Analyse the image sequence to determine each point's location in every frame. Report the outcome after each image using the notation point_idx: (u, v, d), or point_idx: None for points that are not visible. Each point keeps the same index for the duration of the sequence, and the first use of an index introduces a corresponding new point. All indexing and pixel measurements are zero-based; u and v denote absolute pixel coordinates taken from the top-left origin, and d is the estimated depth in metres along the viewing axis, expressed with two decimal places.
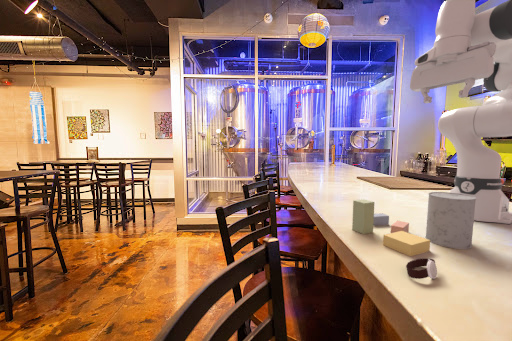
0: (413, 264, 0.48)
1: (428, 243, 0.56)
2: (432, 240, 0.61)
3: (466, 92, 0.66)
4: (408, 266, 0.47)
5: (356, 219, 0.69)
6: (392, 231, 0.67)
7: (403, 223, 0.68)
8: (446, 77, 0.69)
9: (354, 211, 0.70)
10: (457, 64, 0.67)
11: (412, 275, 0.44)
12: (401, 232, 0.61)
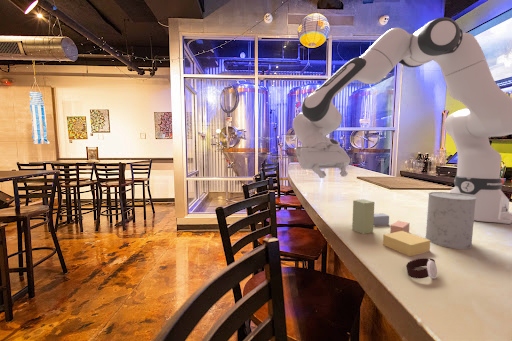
0: (413, 264, 0.48)
1: (428, 243, 0.56)
2: (432, 240, 0.61)
3: (319, 174, 0.78)
4: (408, 266, 0.47)
5: (356, 219, 0.69)
6: (392, 231, 0.67)
7: (403, 223, 0.68)
8: None
9: (354, 211, 0.70)
10: None
11: (412, 275, 0.44)
12: (401, 232, 0.61)
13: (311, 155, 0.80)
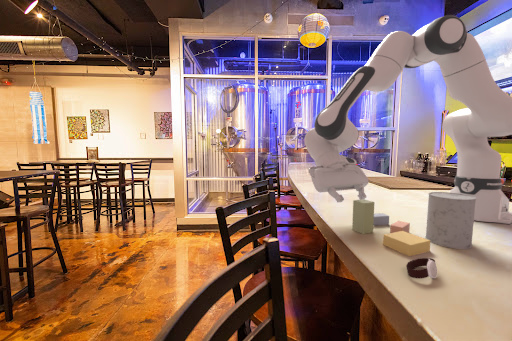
0: (413, 264, 0.48)
1: (428, 243, 0.56)
2: (432, 240, 0.61)
3: (337, 198, 0.72)
4: (408, 266, 0.47)
5: (356, 219, 0.69)
6: (391, 231, 0.67)
7: (403, 223, 0.68)
8: None
9: (354, 211, 0.70)
10: None
11: (412, 275, 0.44)
12: (401, 232, 0.61)
13: (327, 177, 0.74)
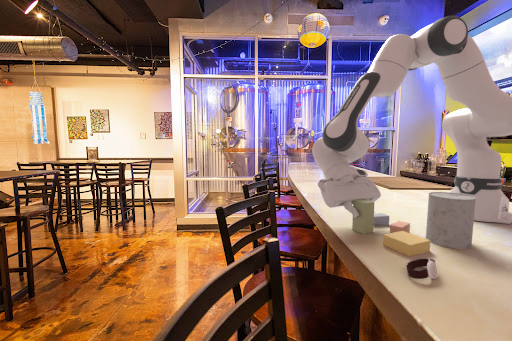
0: (413, 265, 0.48)
1: (428, 243, 0.56)
2: (432, 240, 0.61)
3: (354, 213, 0.68)
4: (408, 266, 0.47)
5: (356, 219, 0.69)
6: (391, 231, 0.67)
7: (403, 223, 0.68)
8: None
9: None
10: None
11: (412, 275, 0.44)
12: (401, 232, 0.61)
13: (338, 191, 0.70)
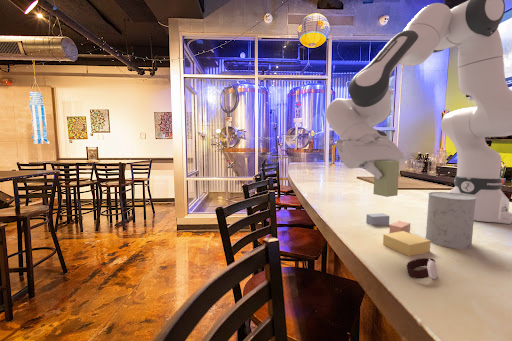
0: (413, 264, 0.48)
1: (428, 244, 0.56)
2: (432, 240, 0.61)
3: (376, 174, 0.61)
4: (408, 266, 0.47)
5: (378, 181, 0.62)
6: (391, 231, 0.67)
7: (404, 223, 0.68)
8: None
9: None
10: None
11: (413, 275, 0.44)
12: (402, 232, 0.61)
13: (357, 150, 0.63)
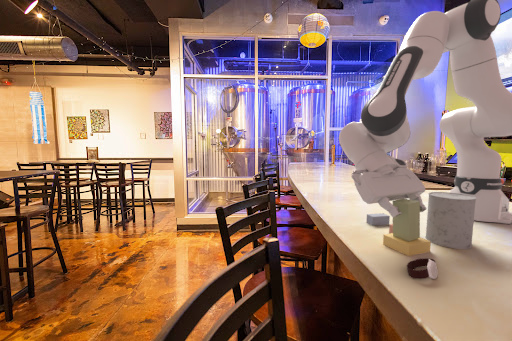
0: (413, 264, 0.48)
1: (428, 244, 0.56)
2: (432, 240, 0.61)
3: (392, 212, 0.55)
4: (408, 266, 0.47)
5: (398, 223, 0.57)
6: (390, 230, 0.67)
7: None
8: None
9: None
10: None
11: (413, 275, 0.44)
12: None
13: (377, 184, 0.58)
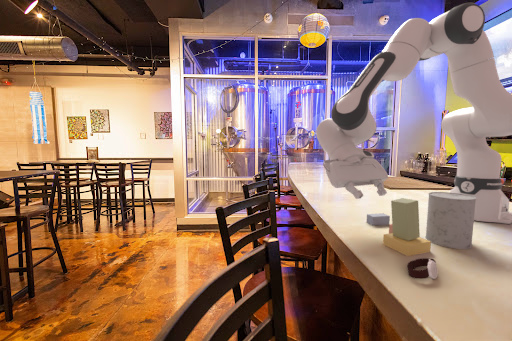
0: (413, 264, 0.48)
1: (428, 244, 0.56)
2: (432, 240, 0.61)
3: (355, 194, 0.65)
4: (409, 266, 0.47)
5: (397, 223, 0.58)
6: (390, 230, 0.67)
7: None
8: None
9: (393, 213, 0.58)
10: None
11: (413, 275, 0.44)
12: None
13: (344, 171, 0.67)
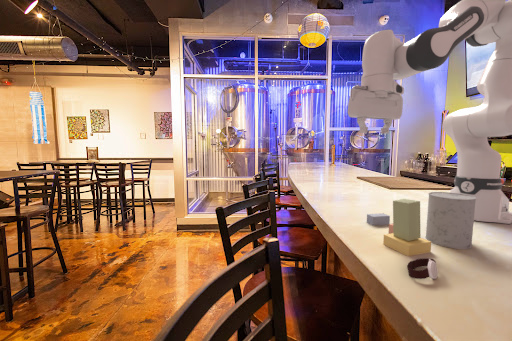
0: (413, 264, 0.48)
1: (429, 244, 0.56)
2: (432, 240, 0.61)
3: (361, 129, 0.72)
4: (409, 266, 0.47)
5: (398, 223, 0.58)
6: (390, 230, 0.67)
7: None
8: None
9: (395, 213, 0.58)
10: None
11: (413, 275, 0.44)
12: None
13: (365, 104, 0.69)
